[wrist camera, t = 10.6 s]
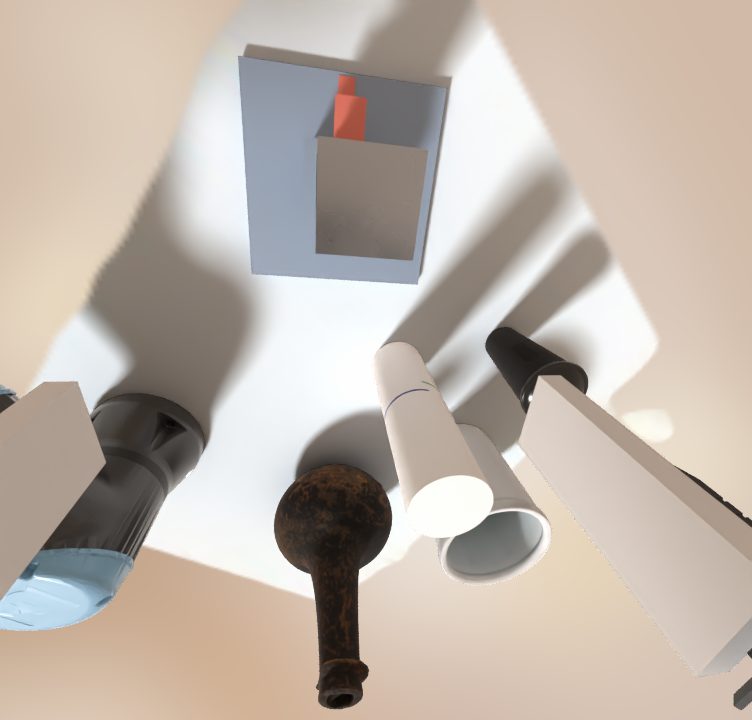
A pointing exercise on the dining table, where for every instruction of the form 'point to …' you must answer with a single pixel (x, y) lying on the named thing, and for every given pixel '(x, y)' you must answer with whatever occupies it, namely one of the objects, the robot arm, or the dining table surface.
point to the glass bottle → (335, 563)
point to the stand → (299, 159)
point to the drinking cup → (529, 364)
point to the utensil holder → (496, 525)
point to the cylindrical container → (428, 447)
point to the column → (368, 198)
